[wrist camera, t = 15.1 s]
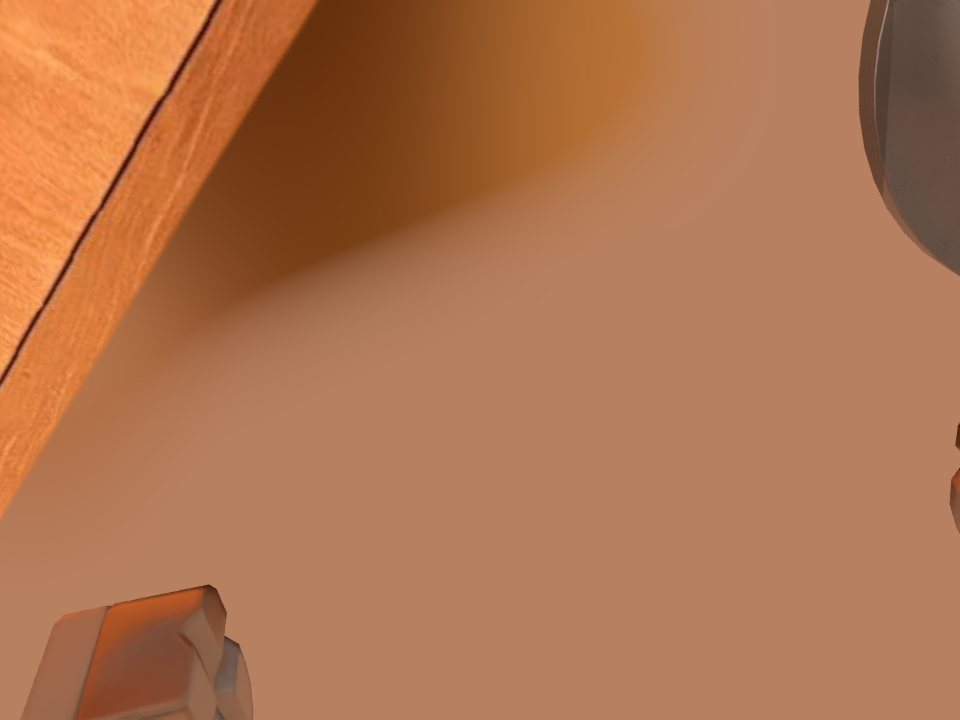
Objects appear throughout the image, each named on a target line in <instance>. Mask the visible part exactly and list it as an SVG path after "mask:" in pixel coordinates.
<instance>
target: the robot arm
mask: <svg viewBox="0 0 960 720" xmlns="http://www.w3.org/2000/svg"><path fill="white" fill-rule="evenodd" d="M955 445H956V447H957V448H958V449H959V451H960V424H959V425H958V430H957V437H956V444H955ZM950 506H951V510H952V514H953V517H954V520H955V524H956V527H957V529H958V531H959V533H960V468H959V470H958V471H957V472H956V474H955V475H954V476H953V478H952V479H951V492H950ZM226 615H227V612H226V610H225V608H224V605H223V604H222V601H221V598H220V596H219V594H218V591H217V589H216V588H214V587H212V586H211V585H204V586H199V587H195V588H189V589H185V590H180V591H175V592H170V593H165V594H161V595H155V596H150V597H146V598H141V599H136V600H131V601H126V602H121V603H116V604H114V605H112V606H104V607H100V608H95V609H90V610H86V611H81V612H76V613H72V614H67V615H64V616H63V617H62V618H61V619H59V620H58V621H57V622H56V623H55V625H54V626H53V629H52V631H51V634H50V637H49V640H48V643H47V645H46V648H45V651H44V654H43V657H42V660H41V663H40V665H39V668H38V671H37V674H36V676H35V679H34V682H33V685H32V688H31V690H30V693H29V696H28V699H27V702H26V704H25V707H24V710H23V713H22V716H21V719H20V720H253V703H252V692H251V682H250V678H249V674H248V670H247V666H246V662H245V659H244V656H243V654H242V651H241V648H240V646H239V644H238V643H236V642H234V641H233V640H231V639H229V638H228V637H226V636H224V633H225V624H226Z"/></svg>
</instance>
